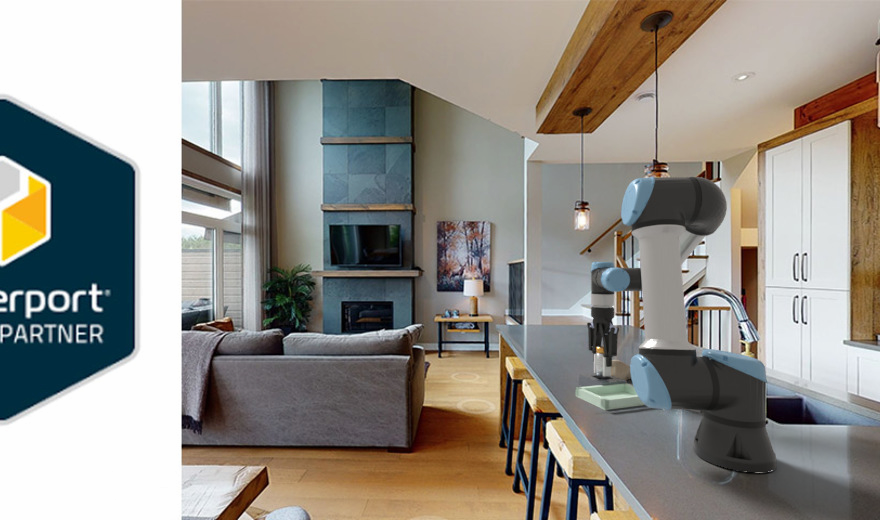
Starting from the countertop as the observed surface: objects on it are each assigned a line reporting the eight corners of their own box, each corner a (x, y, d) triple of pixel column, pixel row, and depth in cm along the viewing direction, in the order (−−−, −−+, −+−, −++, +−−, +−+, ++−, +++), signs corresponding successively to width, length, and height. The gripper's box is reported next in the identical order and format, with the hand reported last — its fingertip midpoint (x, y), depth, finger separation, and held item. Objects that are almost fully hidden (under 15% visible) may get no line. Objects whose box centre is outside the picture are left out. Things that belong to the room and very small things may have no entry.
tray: (624, 392, 143) (624, 382, 143) (657, 404, 130) (657, 394, 130) (575, 397, 137) (575, 387, 137) (604, 411, 124) (604, 400, 124)
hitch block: (626, 392, 142) (626, 380, 142) (602, 395, 139) (602, 383, 139) (602, 383, 154) (602, 372, 154) (579, 385, 150) (579, 374, 150)
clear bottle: (611, 388, 145) (611, 347, 145) (601, 389, 144) (601, 348, 144) (602, 385, 149) (603, 345, 149) (593, 386, 148) (593, 346, 148)
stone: (623, 379, 163) (637, 361, 158) (627, 393, 157) (642, 374, 152) (598, 370, 162) (611, 352, 158) (601, 383, 157) (615, 364, 152)
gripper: (629, 308, 140) (629, 379, 140) (595, 303, 156) (594, 367, 156) (611, 309, 137) (610, 381, 137) (577, 304, 153) (577, 369, 153)
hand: (602, 374), depth 146 cm, fingers closed on clear bottle, 4 cm apart
